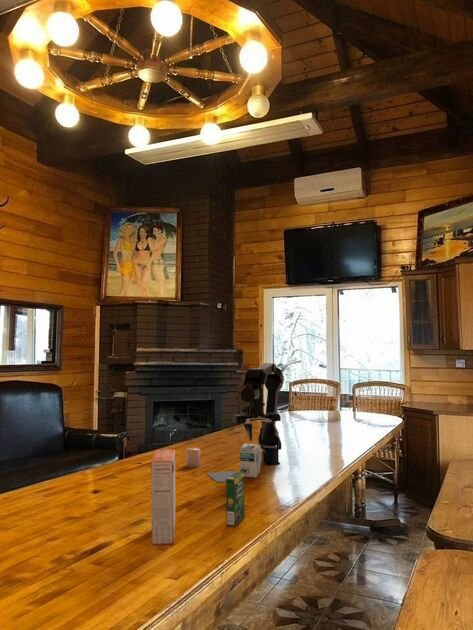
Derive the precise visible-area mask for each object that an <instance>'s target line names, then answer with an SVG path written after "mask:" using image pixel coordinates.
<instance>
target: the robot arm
mask: <svg viewBox="0 0 473 630" xmlns="http://www.w3.org/2000/svg"><path fill="white" fill-rule="evenodd" d="M284 381H285V376H284V373H283V371H282V370H281V369H280V368H279V367H278V366H277V365H276V363H274V362H265V363H263V364H262V365H260V366H258V367H255V368H254V367H253V368H252V367H250V368H248V369H247V370H246V371H245V376H244V381H243V383H242V384H243V386H244V388H243V389H242V391H241V393H240V398H241V400H242V401H243V402H244V403H247V406H246V404H242V405H239V413H240V414H239V413H238V414H232V417H231V422H232V423H234V424H237V425H238V424H239V425H243V427H244V428H245V431H246V433H247V436H248V439H249V441H253V424H252V423H251V421H260V422H261V427H260V429H259V434H258V436H257V437H258V438H257V440H258V441H257V442H258V445H261V449H262V450H261V451H260V463H262V464H264V465H266V466H272V465H273V466H274V465H281V462H280V461H279V451H280V450H282V441H281V438H280V435H279V431H278V428H277V427H276V424H277V422H281V420H282V417H281V414H280V413H278V412H277V409H278V395H279V392H280V391H281V389H282V388H283V383H284ZM264 388H265V389H266V390H267V396H266V403H265V402H264V398H265V397H264ZM265 404H266V405H265ZM264 407H265V409H264ZM264 410H265V412H264Z"/></svg>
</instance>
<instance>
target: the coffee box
mask: <svg viewBox="0 0 473 630" xmlns="http://www.w3.org/2000/svg"><path fill="white" fill-rule="evenodd" d="M234 472H235V473H234V474H233V475H231V476H230V477H228V478H227V479H226V482H225V487H226V488H225V489H226V490H225V493H226V494H225V497H226V498H225V499H226V500H225V501H226V503H225V504H226V505H225V507H226V508H225V509H226V513H225V516H226V520H225V521H226V527H233V528H235V527H236V526H238V524H239V523H241V522H242V521H243V520H244V519H245V515H246V513H245V480H244V479H245V477H244V473H243V472H240V471H234Z"/></svg>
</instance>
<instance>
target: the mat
mask: <svg viewBox="0 0 473 630" xmlns="http://www.w3.org/2000/svg"><path fill="white" fill-rule="evenodd" d="M235 472H236V471H235V470H229V471H218V472H211V473H210V472H208V473H206V475H207V476H208V477H210V478H211V479H212V480H213V481H214V482H216V483H217V484H218V483H226V479H227V478H228V477H230V476H231V475H233V474H234V473H235ZM245 480H246V478H244V481H245Z"/></svg>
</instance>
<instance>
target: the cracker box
mask: <svg viewBox="0 0 473 630" xmlns="http://www.w3.org/2000/svg"><path fill="white" fill-rule="evenodd" d="M150 480H151V481H150V483H151V484H150V486H151V487H150V488H151V489H150V490H151V492H150V493H151V495H150V496H151V497H150V503H151V504H150V505H151V507H150V508H151V509H150V510H151V512H150V514H151V515H150V516H151V545H152V546H158V545H159V546H161V545H174V544H175V535H176V534H175V533H176V519H177V517H176V514H177V513H176V512H177V511H176V509H177V507H176V450H175V449H156V450H154V453H153V456H152V459H151V462H150Z"/></svg>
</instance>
